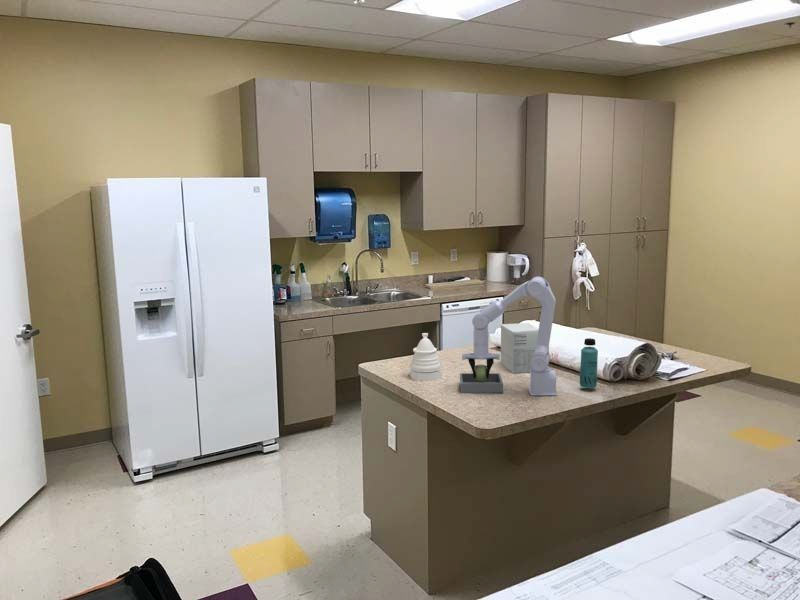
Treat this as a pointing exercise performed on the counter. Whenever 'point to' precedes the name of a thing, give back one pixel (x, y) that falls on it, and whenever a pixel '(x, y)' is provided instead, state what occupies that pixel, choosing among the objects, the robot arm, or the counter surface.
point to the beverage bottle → (588, 365)
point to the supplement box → (518, 346)
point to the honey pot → (425, 361)
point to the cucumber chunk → (480, 373)
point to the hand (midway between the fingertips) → (480, 377)
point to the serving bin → (481, 384)
